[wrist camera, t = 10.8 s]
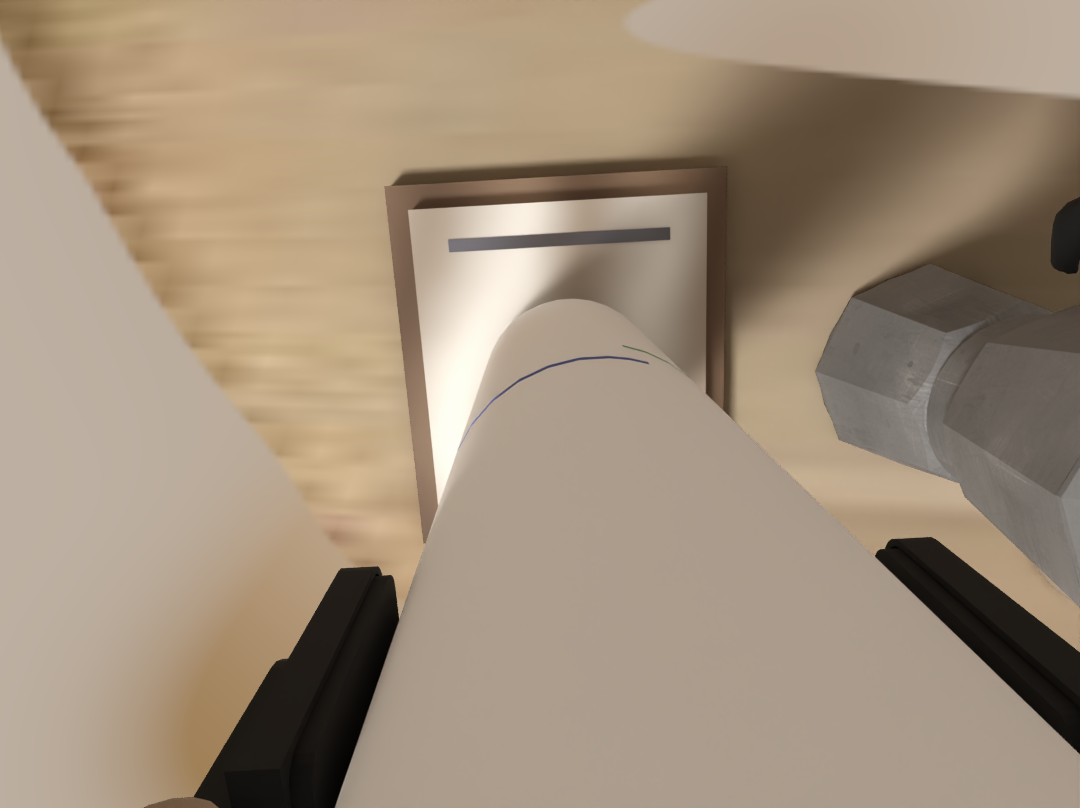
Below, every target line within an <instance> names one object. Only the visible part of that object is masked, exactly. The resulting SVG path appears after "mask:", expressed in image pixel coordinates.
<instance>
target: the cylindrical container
mask: <svg viewBox="0 0 1080 808" xmlns="http://www.w3.org/2000/svg"><path fill="white" fill-rule="evenodd" d="M335 808H1080V754H1079V753H1078V752H1077V751H1076V750H1075V749H1074V748H1073V747H1072V746H1071V745H1070V744H1069V743H1068V742H1066V741H1065V740H1064V739H1063V738H1062V737H1061V736H1060V735H1059V734H1058V733H1057V732H1056V731H1055V730H1054V729H1053V728H1052V727H1051V726H1050V725H1049V724H1048V723H1047V722H1046V721H1045V720H1044V719H1043V718H1042V717H1041V716H1040V715H1038V714H1037V713H1036V712H1035V711H1034V710H1033V709H1032V708H1031V707H1030V706H1029V705H1028V704H1027V703H1026V702H1025V701H1024V700H1023V699H1022V698H1021V697H1020V696H1019V695H1018V694H1017V693H1016V692H1015V691H1014V690H1013V689H1012V688H1010V687H1009V686H1008V685H1007V684H1006V683H1005V682H1004V681H1003V680H1002V679H1001V678H1000V677H999V676H998V675H997V674H996V673H995V672H994V671H993V670H992V669H991V668H990V667H989V666H988V665H987V664H986V663H985V662H984V661H982V660H981V659H980V658H979V657H978V656H977V655H976V654H975V653H974V652H973V651H972V650H971V649H970V648H969V647H968V646H967V645H966V644H965V643H964V642H963V641H962V640H961V639H960V638H959V637H958V636H957V635H956V634H954V633H953V632H952V631H951V630H950V629H949V628H948V627H947V626H946V625H945V624H944V623H943V622H942V621H941V620H940V619H939V618H938V617H937V616H936V615H935V614H934V613H933V612H932V611H931V610H930V609H929V608H928V607H926V606H925V605H924V604H923V603H922V602H921V601H920V600H919V599H918V598H917V597H916V596H915V595H914V594H913V593H912V592H911V591H910V590H909V589H908V588H907V587H906V586H905V585H904V584H903V583H902V582H901V581H900V580H898V579H897V578H896V577H895V576H894V575H893V574H892V573H891V572H890V571H889V570H888V569H887V568H886V567H885V566H884V565H883V564H882V563H881V562H880V561H879V560H878V559H877V558H876V557H875V556H874V555H873V554H872V553H870V552H869V551H868V550H867V549H866V548H865V547H864V546H863V545H862V544H861V543H860V542H859V541H858V540H857V539H856V538H855V537H854V536H853V535H852V534H851V533H850V532H849V531H848V530H847V529H846V528H845V527H844V526H842V525H841V524H840V523H839V522H838V521H837V520H836V519H835V518H834V517H833V516H832V515H831V514H830V513H829V512H828V511H827V510H826V509H825V508H824V507H823V506H822V505H821V504H820V503H819V502H818V501H817V500H816V499H814V498H813V497H812V496H811V495H810V494H809V493H808V492H807V491H806V490H805V489H804V488H803V487H802V486H801V485H800V484H799V483H798V482H797V481H796V480H795V479H794V478H793V477H792V476H791V475H790V474H789V473H788V472H786V471H785V470H784V469H783V468H782V467H781V466H780V465H779V464H778V463H777V462H776V461H775V460H774V459H773V458H772V457H771V456H770V455H769V454H768V453H767V452H766V451H765V450H764V449H763V448H762V447H761V446H760V445H758V444H757V443H756V442H755V441H754V440H753V439H752V438H751V437H750V436H749V435H748V434H747V433H746V432H745V431H744V430H743V429H742V428H741V427H740V426H739V425H738V424H737V423H736V422H735V421H734V420H733V419H732V418H730V417H729V416H728V415H727V414H726V413H725V412H724V411H723V410H722V409H721V408H720V407H719V406H718V405H717V404H716V403H715V402H714V401H713V400H712V399H711V398H710V397H709V396H708V395H707V394H706V393H705V392H704V391H702V390H701V389H700V388H699V387H698V386H697V385H696V384H695V383H694V382H693V381H692V380H691V379H690V378H689V377H688V376H687V375H686V374H685V373H684V372H683V371H682V370H681V369H680V368H679V367H678V366H677V365H676V364H674V363H673V362H672V361H671V360H670V359H669V358H668V357H667V356H666V355H665V354H664V353H663V352H662V351H661V350H660V349H659V348H658V347H657V346H656V345H655V344H654V343H653V342H652V341H651V340H649V339H648V338H647V337H646V336H645V335H644V334H643V333H642V332H641V331H640V330H639V329H638V328H637V327H636V326H635V325H634V324H633V323H631V322H630V321H629V320H628V319H627V318H626V317H625V316H624V315H622V314H621V313H619V312H617V311H615V310H614V309H612V308H610V307H608V306H606V305H603V304H600V303H597V302H594V301H590V300H582V299H560V300H555V301H551V302H547V303H543V304H541V305H538V306H536V307H534V308H532V309H530V310H528V311H526V312H525V313H523V314H522V315H521V316H519V317H518V318H517V319H516V320H514V321H513V322H512V323H511V324H510V325H509V326H508V327H507V328H506V330H505V331H504V332H503V333H502V334H501V335H500V337H499V339H498V340H497V342H496V344H495V346H494V348H493V349H492V351H491V354H490V357H489V360H488V363H487V366H486V369H485V371H484V374H483V377H482V380H481V383H480V386H479V389H478V392H477V395H476V398H475V401H474V404H473V406H472V409H471V412H470V415H469V418H468V421H467V424H466V427H465V430H464V433H463V436H462V439H461V441H460V444H459V447H458V450H457V453H456V456H455V459H454V462H453V465H452V468H451V471H450V474H449V476H448V479H447V482H446V485H445V488H444V491H443V494H442V497H441V500H440V503H439V506H438V508H437V511H436V514H435V517H434V520H433V523H432V526H431V529H430V532H429V535H428V538H427V541H426V543H425V546H424V549H423V552H422V555H421V558H420V561H419V564H418V567H417V570H416V573H415V576H414V578H413V581H412V584H411V587H410V590H409V593H408V596H407V599H406V602H405V605H404V608H403V611H402V614H401V617H400V619H399V622H398V625H397V628H396V631H395V634H394V637H393V640H392V643H391V645H390V648H389V651H388V654H387V657H386V660H385V663H384V666H383V669H382V672H381V675H380V678H379V680H378V683H377V686H376V689H375V692H374V695H373V698H372V701H371V704H370V707H369V710H368V713H367V715H366V718H365V721H364V724H363V727H362V730H361V733H360V736H359V739H358V742H357V745H356V747H355V750H354V753H353V756H352V759H351V762H350V765H349V768H348V771H347V774H346V777H345V780H344V782H343V785H342V788H341V791H340V794H339V797H338V800H337V803H336V806H335Z"/></svg>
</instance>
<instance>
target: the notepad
mask: <svg viewBox="0 0 1080 808" xmlns="http://www.w3.org/2000/svg"><path fill="white" fill-rule="evenodd" d="M384 187H385V196H386V205H387V214H388V223H389V232H390V241H391V251H392V260H393V269H394V278H395V287H396V296H397V305H398V314H399V324H400V333H401V342H402V351H403V360H404V369H405V378H406V387H407V396H408V406H409V415H410V424H411V433H412V442H413V451H414V460H415V469H416V479H417V488H418V497H419V506H420V515H421V524H422V533H423V542H424V543H426V541H427V538H428V535H429V532H430V529H431V526H432V523H433V520H434V517H435V514H436V511H437V508H438V506H439V503H440V500H441V497H442V494H443V491H444V488H445V485H446V482H447V479H448V476H449V474H450V471H451V468H452V465H453V462H454V459H455V456H456V453H457V450H458V447H459V444H460V441H461V439H462V436H463V433H464V430H465V427H466V424H467V421H468V418H469V415H470V412H471V409H472V406H473V404H474V401H475V398H476V395H477V392H478V389H479V386H480V383H481V380H482V377H483V374H484V371H485V369H486V366H487V363H488V360H489V357H490V354H491V351H492V349H493V348H494V346H495V344H496V342H497V340H498V339H499V337H500V335H501V334H502V333H503V332H504V331H505V330H506V328H507V327H508V326H509V325H510V324H511V323H512V322H513V321H514V320H516V319H517V318H518V317H519V316H521V315H522V314H523V313H525V312H526V311H528V310H530V309H532V308H534V307H536V306H538V305H541V304H543V303H547V302H551V301H555V300H560V299H582V300H590V301H594V302H597V303H600V304H603V305H606V306H608V307H610V308H612V309H614V310H615V311H617V312H619V313H621V314H622V315H624V316H625V317H626V318H627V319H628V320H629V321H630V322H631V323H633V324H634V325H635V326H636V327H637V328H638V329H639V330H640V331H641V332H642V333H643V334H644V335H645V336H646V337H647V338H648V339H649V340H651V341H652V342H653V343H654V344H655V345H656V346H657V347H658V348H659V349H660V350H661V351H662V352H663V353H664V354H665V355H666V356H667V357H668V358H669V359H670V360H671V361H672V362H673V363H674V364H676V365H677V366H678V367H679V368H680V369H681V370H682V371H683V372H684V373H685V374H686V375H687V376H688V377H689V378H690V379H691V380H692V381H693V382H694V383H695V384H696V385H697V386H698V387H699V388H700V389H701V390H702V391H704V392H705V393H706V394H707V395H708V396H709V397H710V398H711V399H712V400H713V401H714V402H715V403H716V404H717V405H718V406H719V407H720V408H721V409H722V410H723V401H724V333H725V265H726V198H727V167H710V168H693V169H676V170H658V171H641V172H624V173H607V174H589V175H572V176H555V177H538V178H520V179H503V180H486V181H469V182H451V183H434V184H417V185H399V186H384Z"/></svg>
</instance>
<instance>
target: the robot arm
mask: <svg viewBox="0 0 1080 808" xmlns="http://www.w3.org/2000/svg"><path fill="white" fill-rule="evenodd" d="M875 557H876V558H877V559H878V560H879V561H880V562H881V563H882V564H883V565H884V566H885V567H886V568H887V569H888V570H889V571H890V572H891V573H892V574H893V575H894V576H895V577H896V578H897V579H898V580H900V581H901V582H902V583H903V584H904V585H905V586H906V587H907V588H908V589H909V590H910V591H911V592H912V593H913V594H914V595H915V596H916V597H917V598H918V599H919V600H920V601H921V602H922V603H923V604H924V605H925V606H926V607H928V608H929V609H930V610H931V611H932V612H933V613H934V614H935V615H936V616H937V617H938V618H939V619H940V620H941V621H942V622H943V623H944V624H945V625H946V626H947V627H948V628H949V629H950V630H951V631H952V632H953V633H954V634H956V635H957V636H958V637H959V638H960V639H961V640H962V641H963V642H964V643H965V644H966V645H967V646H968V647H969V648H970V649H971V650H972V651H973V652H974V653H975V654H976V655H977V656H978V657H979V658H980V659H981V660H982V661H984V662H985V663H986V664H987V665H988V666H989V667H990V668H991V669H992V670H993V671H994V672H995V673H996V674H997V675H998V676H999V677H1000V678H1001V679H1002V680H1003V681H1004V682H1005V683H1006V684H1007V685H1008V686H1009V687H1010V688H1012V689H1013V690H1014V691H1015V692H1016V693H1017V694H1018V695H1019V696H1020V697H1021V698H1022V699H1023V700H1024V701H1025V702H1026V703H1027V704H1028V705H1029V706H1030V707H1031V708H1032V709H1033V710H1034V711H1035V712H1036V713H1037V714H1038V715H1040V716H1041V717H1042V718H1043V719H1044V720H1045V721H1046V722H1047V723H1048V724H1049V725H1050V726H1051V727H1052V728H1053V729H1054V730H1055V731H1056V732H1057V733H1058V734H1059V735H1060V736H1061V737H1062V738H1063V739H1064V740H1065V741H1066V742H1068V743H1069V744H1070V745H1071V746H1072V747H1073V748H1074V749H1075V750H1076V751H1077V752H1078V753H1079V754H1080V652H1079V651H1077V650H1076V649H1075V648H1074V647H1072V646H1071V645H1070V644H1068V643H1067V642H1066V641H1065V640H1063V639H1062V638H1061V637H1060V636H1058V635H1057V634H1056V633H1054V632H1053V631H1052V630H1051V629H1049V628H1048V627H1047V626H1046V625H1044V624H1043V623H1042V622H1040V621H1039V620H1038V619H1037V618H1035V617H1034V616H1033V615H1032V614H1030V613H1029V612H1028V611H1026V610H1025V609H1024V608H1023V607H1021V606H1020V605H1019V604H1017V603H1016V602H1015V601H1014V600H1012V599H1011V598H1010V597H1009V596H1007V595H1006V594H1005V593H1003V592H1002V591H1001V590H1000V589H998V588H997V587H996V586H995V585H993V584H992V583H991V582H989V581H988V580H987V579H986V578H984V577H983V576H982V575H981V574H979V573H978V572H977V571H975V570H974V569H973V568H972V567H970V566H969V565H968V564H967V563H965V562H964V561H963V560H961V559H960V558H959V557H958V556H956V555H955V554H954V553H953V552H951V551H950V550H949V549H947V548H946V547H945V546H944V545H942V544H941V543H940V542H939V541H937V540H936V539H934V538H932V537H924V538H905V539H891V540H890V541H889V542H888V543H887V545H886V547H885V549H880V550H878V551H877V553H876V555H875ZM1038 569H1039V568H1038ZM1039 571H1040V572H1041V574H1042V575H1043V576H1044V577H1045V578H1046V579H1047V580H1048V582H1049V583H1050V584H1051V585H1052V586H1053V587H1054V588H1055V589H1057V590H1058V591H1059V592H1061V593H1062V594H1064V595H1065V596H1066V597H1068V596H1067V595H1066V594H1065V593H1064V592H1063V591H1062V590H1061V589H1060V588H1059V587H1058V586H1057V585H1056V584H1055V583H1054V582H1053V581H1052V580H1051V579H1050V578H1049V577H1048V576H1047V575H1046V574H1045V573H1043V572H1042V571H1041V570H1040V569H1039ZM1068 598H1069V597H1068ZM1069 599H1070V600H1072V599H1071V598H1069ZM1072 601H1073V600H1072ZM1073 602H1074V601H1073ZM1074 603H1075V602H1074ZM398 622H399V614H398V607H397V598H396V590H395V583H394V579H393V577H392V575H386V576H382V573H381V570H380V568H379V567H378V566H377V567H359V568H341V569H340V570H339V571H338V573H337V575H336V577H335V578H334V580H333V582H332V583H331V585H330V587H329V589H328V591H327V592H326V594H325V596H324V597H323V599H322V601H321V603H320V604H319V606H318V608H317V610H316V611H315V613H314V615H313V617H312V618H311V620H310V622H309V624H308V625H307V627H306V629H305V631H304V632H303V634H302V636H301V637H300V639H299V641H298V643H297V645H296V646H295V648H294V650H293V652H292V653H291V655H290V657H289V658H288V659H282V660H279V661H276V663H275V664H274V665H273V666H272V667H271V669H270V671H269V672H268V674H267V675H266V677H265V679H264V680H263V682H262V684H261V685H260V687H259V689H258V691H257V692H256V694H255V696H254V697H253V699H252V700H251V702H250V704H249V705H248V707H247V709H246V711H245V712H244V714H243V715H242V717H241V719H240V720H239V722H238V724H237V725H236V727H235V729H234V730H233V732H232V734H231V735H230V737H229V739H228V740H227V742H226V744H225V745H224V747H223V749H222V750H221V752H220V754H219V755H218V757H217V759H216V760H215V762H214V764H213V766H212V767H211V769H210V771H209V772H208V774H207V775H206V777H205V779H204V780H203V782H202V784H201V786H200V787H199V789H198V790H197V792H196V794H195V795H194V797H186V798H173V799H168V800H165V801H162V802H158V803H155V804H151V805H148V806H146V807H144V808H335V806H336V803H337V800H338V797H339V794H340V791H341V788H342V785H343V782H344V780H345V777H346V774H347V771H348V768H349V765H350V762H351V759H352V756H353V753H354V750H355V747H356V745H357V742H358V739H359V736H360V733H361V730H362V727H363V724H364V721H365V718H366V715H367V713H368V710H369V707H370V704H371V701H372V698H373V695H374V692H375V689H376V686H377V683H378V680H379V678H380V675H381V672H382V669H383V666H384V663H385V660H386V657H387V654H388V651H389V648H390V645H391V643H392V640H393V637H394V634H395V631H396V628H397V625H398Z"/></svg>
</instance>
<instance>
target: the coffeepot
mask: <svg viewBox="0 0 1080 808" xmlns="http://www.w3.org/2000/svg"><path fill="white" fill-rule="evenodd" d="M1079 261H1080V197H1079V198H1077V199H1075V200H1073V201H1071V202H1068V203H1067V204H1066V205H1065V206H1064V207H1063V208H1062V209H1061V210H1060V211H1059V212H1058V213H1057V214H1056V217H1055V221H1054V224H1053V230H1052V239H1051V264H1052V266H1053V268H1055V269H1057V270H1058V271H1062V272H1065V273H1067V274H1072V273H1077V271H1078V265H1079ZM815 372H816V375H817V378H818V381H819V384H820V387H821V391H822V396H823V400H824V404H825V406H826V408H827V411H828V413H829V415H830V417H831V419H832V422H833V424H834V427H835V430H836V433H837V436H838V439H839V440H841V441H843V442H846V443H848V444H851V445H854V446H856V447H859V448H862V449H864V450H867V451H869V452H872V453H875V454H877V455H880V456H883V457H885V458H888V459H890V460H893V461H896V462H898V463H901V464H904V465H906V466H909V467H912V468H915V469H918V470H921V471H924V472H927V473H930V474H933V475H936V476H939V477H942V478H945V479H948V480H951V481H954V482H957V483H960V486H961V489H962V491H963V494H964V496H965V498H966V499H967V500H969V501H970V502H971V503H972V504H973V505H974V506H975V507H976V508H977V509H978V510H979V511H980V512H981V513H982V514H983V515H984V516H985V517H986V518H987V519H988V520H989V521H990V522H991V523H992V524H994V525H995V526H996V527H997V528H998V529H999V530H1000V531H1001V532H1002V533H1003V534H1004V535H1005V536H1006V537H1007V538H1008V539H1009V540H1010V541H1011V542H1012V543H1013V544H1014V545H1015V546H1016V547H1017V548H1018V549H1020V550H1021V551H1022V552H1023V553H1024V554H1025V555H1026V556H1027V557H1028V558H1029V559H1030V560H1031V561H1032V562H1033V563H1034V564H1035V565H1036V566H1037V567H1038V568H1039V569H1040V570H1041V571H1042V572H1043V573H1045V574H1046V575H1047V576H1048V577H1049V578H1050V579H1051V580H1052V581H1053V582H1054V583H1055V584H1056V585H1057V586H1058V587H1059V588H1060V589H1061V590H1062V591H1063V592H1064V593H1065V594H1066V595H1067V596H1068V597H1069V598H1071V599H1072V600H1073V601H1074V602H1075V603H1076V604H1077V605H1078V606H1079V607H1080V306H1074V307H1071V308H1068V309H1065V310H1062V311H1059V312H1056V313H1055V312H1052V311H1049V310H1047V309H1044V308H1042V307H1039V306H1037V305H1034V304H1032V303H1029V302H1026V301H1024V300H1021V299H1019V298H1016V297H1014V296H1011V295H1008V294H1006V293H1003V292H1001V291H998V290H996V289H993V288H990V287H988V286H985V285H983V284H980V283H978V282H975V281H972V280H970V279H967V278H965V277H962V276H960V275H958V274H955V273H953V272H950V271H948V270H945V269H943V268H940V267H938V266H935V265H933V264H928V265H926V266H923V267H921V268H919V269H916V270H914V271H912V272H909V273H906V274H903V275H901V276H898V277H895V278H892V279H889V280H887V281H885V282H883V283H881V284H879V285H877V286H875V287H874V288H872V289H870V290H868V291H865V292H863V293H861V294H858V295H856V296H854V297H852V298H851V300H850V301H849V303H848V305H847V307H846V308H845V310H844V312H843V314H842V316H841V317H840V319H839V321H838V322H837V324H836V325H835V327H834V329H833V330H832V332H831V334H830V336H829V339H828V341H827V344H826V347H825V349H824V352H823V357H822V359H821V361H820V363H819V365H818V367H817V369H816V371H815Z"/></svg>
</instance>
